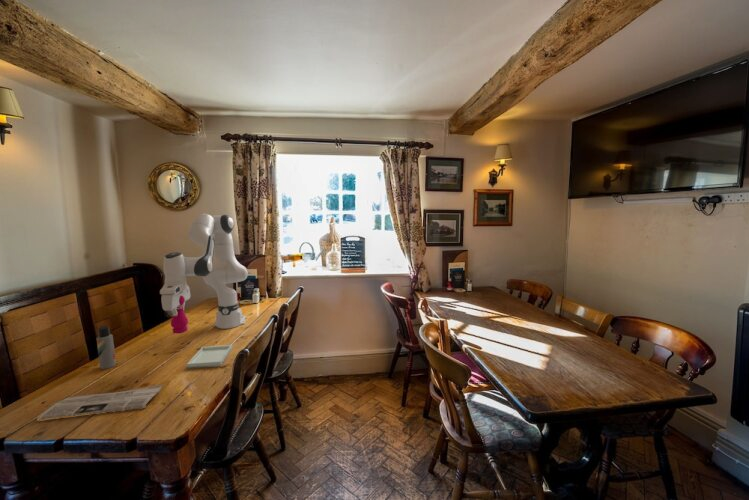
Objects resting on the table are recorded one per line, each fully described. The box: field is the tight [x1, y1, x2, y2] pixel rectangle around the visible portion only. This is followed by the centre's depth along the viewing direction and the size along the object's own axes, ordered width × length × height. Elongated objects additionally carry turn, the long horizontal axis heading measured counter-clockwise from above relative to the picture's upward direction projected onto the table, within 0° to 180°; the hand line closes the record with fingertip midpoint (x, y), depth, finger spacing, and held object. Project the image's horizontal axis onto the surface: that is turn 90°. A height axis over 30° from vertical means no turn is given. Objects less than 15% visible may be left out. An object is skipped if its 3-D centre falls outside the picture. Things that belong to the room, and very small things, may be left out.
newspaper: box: [36, 384, 163, 419], centre depth 113 cm, size 35×12×4 cm, turn 103°
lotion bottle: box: [96, 325, 117, 370], centre depth 139 cm, size 6×6×20 cm
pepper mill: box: [170, 296, 189, 334], centre depth 145 cm, size 7×7×20 cm
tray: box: [186, 344, 233, 370], centre depth 148 cm, size 18×15×2 cm
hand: (178, 313), depth 145 cm, fingers closed on pepper mill, 5 cm apart
